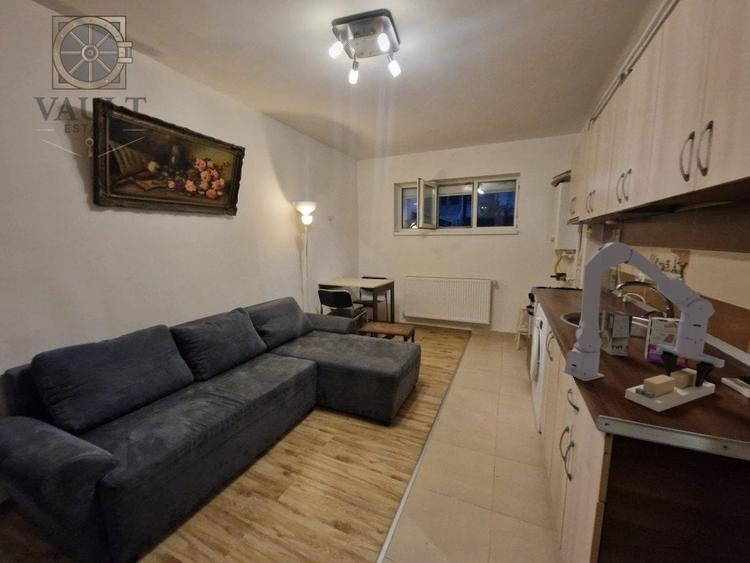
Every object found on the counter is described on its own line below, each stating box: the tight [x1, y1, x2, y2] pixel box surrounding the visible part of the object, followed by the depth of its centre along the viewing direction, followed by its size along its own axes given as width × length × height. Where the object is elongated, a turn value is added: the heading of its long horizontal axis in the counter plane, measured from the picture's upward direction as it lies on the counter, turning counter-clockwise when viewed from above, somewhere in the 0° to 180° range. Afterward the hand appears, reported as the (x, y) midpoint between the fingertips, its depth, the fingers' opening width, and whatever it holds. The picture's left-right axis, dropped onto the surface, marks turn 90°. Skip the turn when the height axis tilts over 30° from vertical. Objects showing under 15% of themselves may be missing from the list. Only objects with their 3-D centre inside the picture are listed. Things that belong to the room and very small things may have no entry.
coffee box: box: [599, 309, 634, 357], centre depth 125 cm, size 9×6×16 cm
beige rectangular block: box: [670, 367, 697, 389], centre depth 94 cm, size 9×3×6 cm, turn 112°
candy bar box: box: [644, 316, 689, 368], centre depth 114 cm, size 11×5×16 cm, turn 58°
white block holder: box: [624, 374, 716, 413], centre depth 91 cm, size 28×8×6 cm, turn 112°
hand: (683, 381), depth 93 cm, fingers open, 6 cm apart
